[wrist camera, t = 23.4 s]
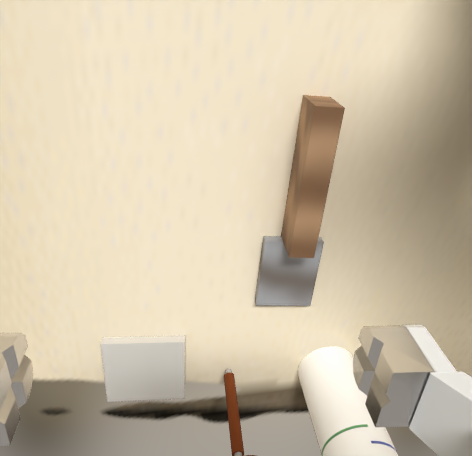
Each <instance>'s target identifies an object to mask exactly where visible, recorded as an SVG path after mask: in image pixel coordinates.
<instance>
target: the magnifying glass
mask: <svg viewBox="0 0 472 456" xmlns="http://www.w3.org/2000/svg"><path fill="white" fill-rule="evenodd" d="M225 373H226V374H225V375H224V382H225V391H226V401H227V411H228V420H229V430H230V440H231V449H232V456H244V449H243V441H242V433H241V425H240V418H239V410H238V402H237V395H236V387H235V379H234V374H233V373H232V371H231V369H227V370H226V371H225ZM247 456H254V455H247Z"/></svg>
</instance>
